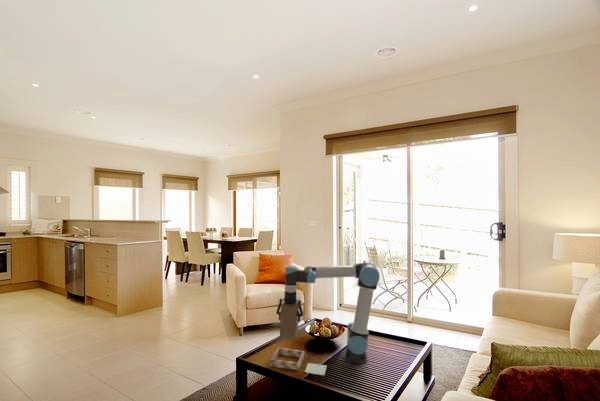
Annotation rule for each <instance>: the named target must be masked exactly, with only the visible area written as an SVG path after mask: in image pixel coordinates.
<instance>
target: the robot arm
mask: <svg viewBox="0 0 600 401" xmlns="http://www.w3.org/2000/svg"><path fill="white" fill-rule="evenodd" d="M284 275H285V276H284V282H285V283H284V298H282V297H281V298H279V302H278V306H277V309H276V311H275V312H276V313H275V314H276V315H278V320H279V321H280V317H281V305H282V304H283V303H284V302H285V304H292V305H294V304H295V303H296V302H297V303H298V306H299V311H298V310H297V315H298V316H297V328H298V329H299V324H300V322H301V318H302V317H304V311H303V307H302V300H301V299H298V298H297V286H298V284H297V283H303V284H314V283H316V279H332V278H355V279H358V282H357V286H358V288H359V289H358V290H359V291H358V296H357V300H356V307H355V314H354V318H353V322H349V323H348V324H347V333H346V334H347V338H346V339H347V340H346V348H345V350H344V354H343V358H344V360H345V361H347V362H348V363H351V364H359V365H360V364H365V363H367V362H368V355H367V349H368V347H369V342H368V341H369V340H368V339H369V334H370V332H369V329H368V327H369V326H368V324H369V318H370V313H371V307H372V302H373V296H374V291H376V290H377V288H378V283H379V281H380V272H379V270H378V268H377V267H376V265H374V264H373V263H371V262H361V263H354V264H353V265H352V264H351V265H331V266H329V265H327V266H306V267H304V268H303V270H301V269H298V267H297V266H295V265H294V266H290V265H289V266H286V267H285V274H284Z"/></svg>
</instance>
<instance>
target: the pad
mask: <svg viewBox="0 0 600 401" xmlns="http://www.w3.org/2000/svg"><path fill="white" fill-rule="evenodd" d="M318 365H319V366H318ZM327 367H328V365H326V364H318V363H310V362H308V363H307V365H306V368H305V370H304V372H306V373H305V374H310V373H311V374H310V375H319V376H326V371H327Z"/></svg>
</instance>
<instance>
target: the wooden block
mask: <svg viewBox="0 0 600 401" xmlns="http://www.w3.org/2000/svg"><path fill="white" fill-rule="evenodd" d="M297 310H298V311H299V312H300V310H299V306H298V303H297V302H296V303H295V304H294V305H292V304H285V302H284V301H283V302H282V304H281V307H280V311H281V317H280V320H279V322H280V323H279V336H280V337H281V338H287V339H295V338H296V337H297V335H298V334H299V327H298V328H297V316H298V315H297Z"/></svg>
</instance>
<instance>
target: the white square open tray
mask: <svg viewBox="0 0 600 401" xmlns="http://www.w3.org/2000/svg"><path fill="white" fill-rule="evenodd" d="M279 355H280V356H287V357H294V358H295V357H296V358H299V359H298V361H297V362H295V361H289V360H283V359H282V360H281V359H277V358H278V357H279ZM304 359H305V351H303V350H298V349H291V348H283V347H277V349H276V350H275V351H274V353H273V354H272V356H271V358H270V360H269V361H270V362H269V367H274V368H280V369H289V370H295V371H299V370H300V368H301V365H302V363H303V361H304Z"/></svg>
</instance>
